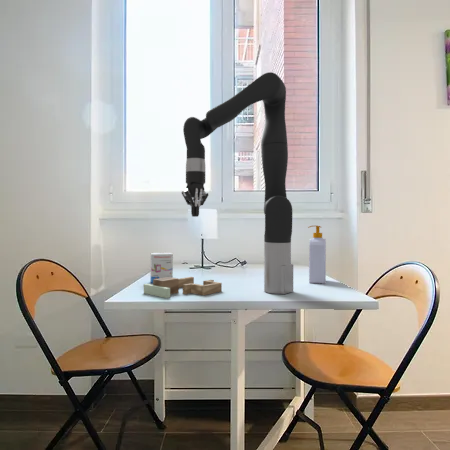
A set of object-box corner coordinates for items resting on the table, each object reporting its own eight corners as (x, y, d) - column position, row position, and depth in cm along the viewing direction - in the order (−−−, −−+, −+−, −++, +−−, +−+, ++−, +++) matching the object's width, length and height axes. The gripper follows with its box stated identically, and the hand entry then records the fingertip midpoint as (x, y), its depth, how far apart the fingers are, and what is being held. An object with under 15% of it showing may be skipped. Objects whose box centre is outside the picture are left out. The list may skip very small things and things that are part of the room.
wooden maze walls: (226, 290, 125) (226, 281, 125) (198, 296, 114) (198, 287, 114) (191, 284, 137) (191, 276, 137) (162, 289, 126) (162, 281, 126)
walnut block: (178, 293, 121) (178, 278, 121) (162, 296, 116) (162, 281, 116) (169, 291, 124) (169, 277, 124) (153, 294, 119) (153, 279, 119)
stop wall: (170, 297, 113) (170, 288, 113) (166, 298, 112) (166, 288, 112) (147, 292, 121) (147, 283, 121) (143, 293, 120) (143, 284, 120)
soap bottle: (308, 279, 149) (308, 225, 148) (325, 280, 147) (325, 225, 146) (307, 283, 140) (307, 225, 140) (325, 284, 138) (325, 225, 138)
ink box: (151, 283, 139) (151, 253, 138) (150, 281, 143) (150, 252, 143) (172, 282, 141) (172, 253, 141) (171, 280, 146) (171, 252, 146)
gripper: (190, 168, 127) (189, 216, 127) (214, 172, 138) (213, 216, 138) (176, 170, 132) (175, 216, 132) (200, 174, 142) (200, 216, 142)
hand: (195, 216), depth 135 cm, fingers closed
